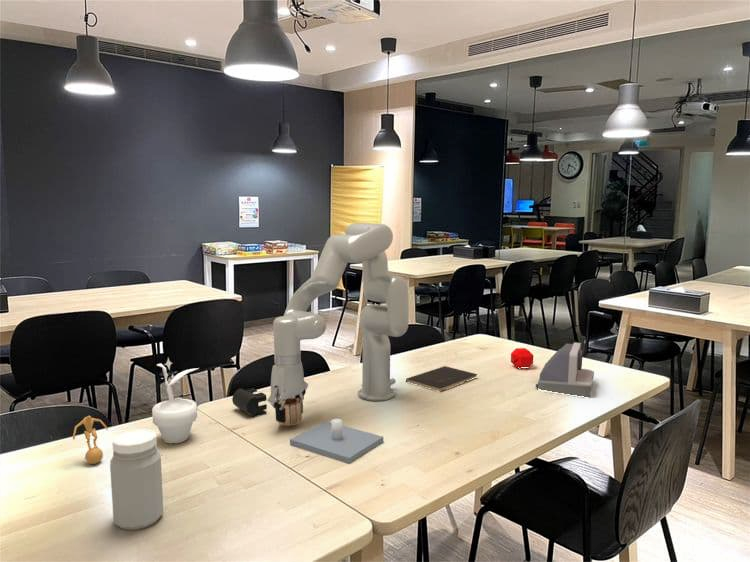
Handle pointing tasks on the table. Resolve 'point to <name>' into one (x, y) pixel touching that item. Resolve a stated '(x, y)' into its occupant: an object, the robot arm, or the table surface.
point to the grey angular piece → (566, 372)
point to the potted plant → (174, 412)
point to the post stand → (337, 441)
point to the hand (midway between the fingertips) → (289, 416)
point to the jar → (136, 479)
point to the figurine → (94, 453)
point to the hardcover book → (441, 378)
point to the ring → (292, 411)
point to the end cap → (250, 401)
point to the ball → (522, 357)
